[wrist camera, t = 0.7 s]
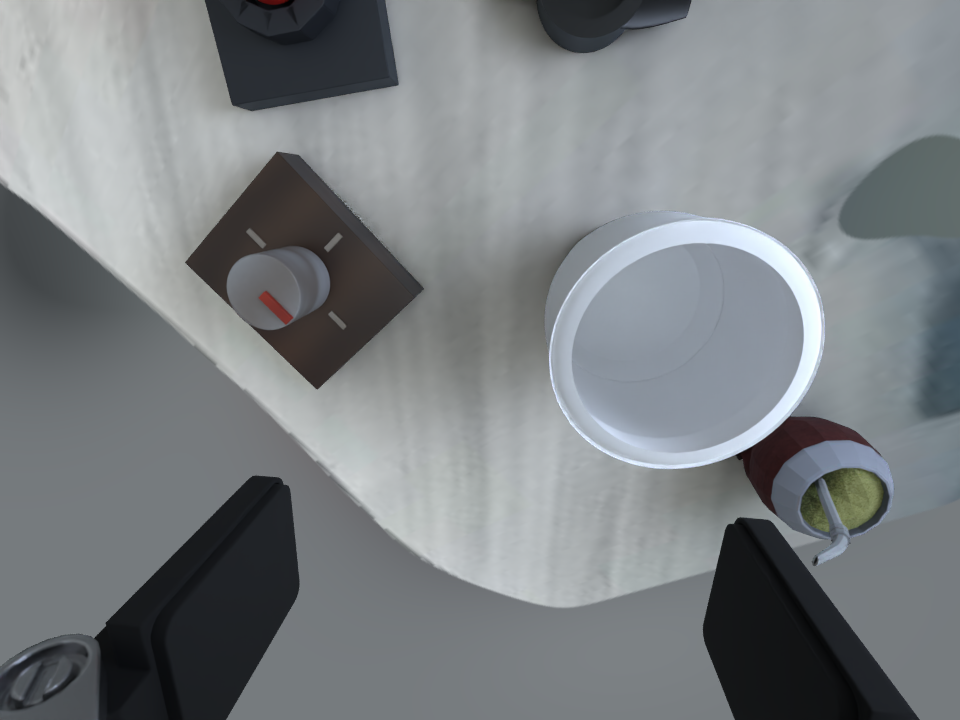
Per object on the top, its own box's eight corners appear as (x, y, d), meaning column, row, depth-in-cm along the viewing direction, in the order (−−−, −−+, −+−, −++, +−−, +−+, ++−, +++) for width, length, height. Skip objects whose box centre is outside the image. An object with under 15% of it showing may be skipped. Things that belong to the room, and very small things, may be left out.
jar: (594, 385, 36) (636, 511, 22) (510, 271, 34) (497, 328, 20) (728, 301, 33) (878, 383, 19) (646, 170, 31) (746, 152, 17)
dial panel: (212, 257, 35) (183, 263, 32) (298, 154, 33) (275, 151, 30) (332, 375, 38) (315, 390, 35) (424, 288, 35) (414, 298, 32)
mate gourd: (841, 460, 36) (1044, 633, 22) (732, 496, 38) (855, 678, 23) (812, 372, 34) (1014, 501, 20) (700, 415, 36) (812, 560, 22)
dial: (252, 277, 32) (207, 290, 28) (294, 231, 31) (254, 237, 27) (301, 325, 33) (265, 346, 29) (344, 282, 32) (313, 297, 27)
